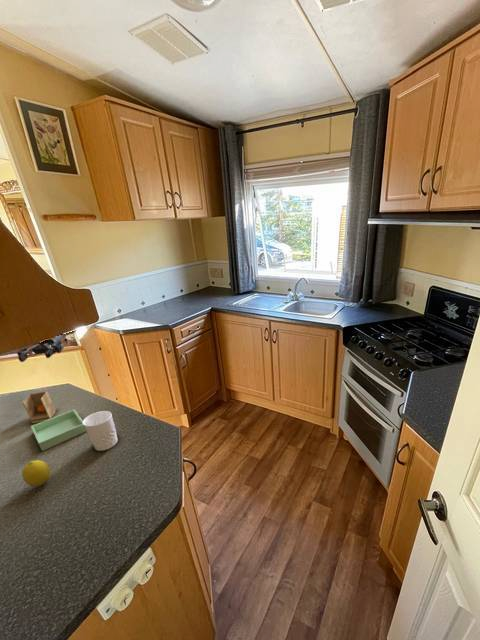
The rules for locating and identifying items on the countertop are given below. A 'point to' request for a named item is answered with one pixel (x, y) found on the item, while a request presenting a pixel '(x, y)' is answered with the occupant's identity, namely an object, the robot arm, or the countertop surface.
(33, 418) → the open wooden box
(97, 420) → the white cup
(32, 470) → the lemon
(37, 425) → the tray
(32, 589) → the countertop surface
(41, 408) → the ball
